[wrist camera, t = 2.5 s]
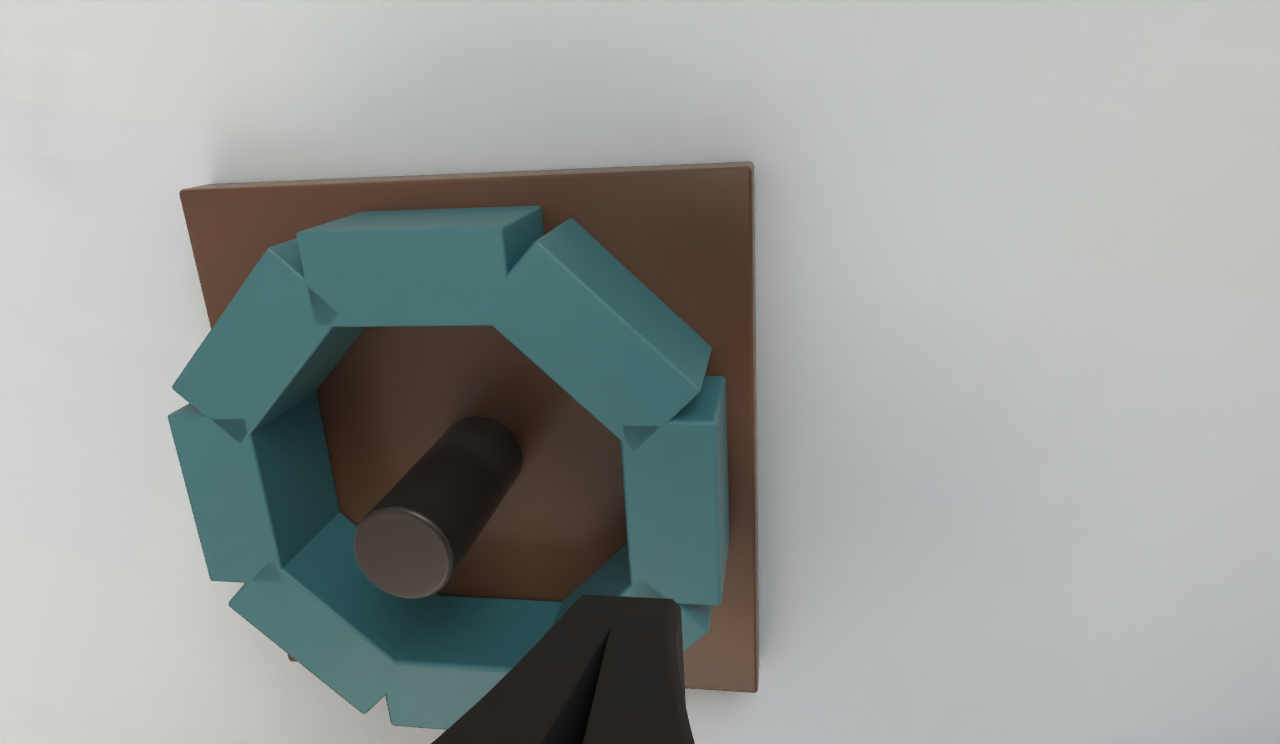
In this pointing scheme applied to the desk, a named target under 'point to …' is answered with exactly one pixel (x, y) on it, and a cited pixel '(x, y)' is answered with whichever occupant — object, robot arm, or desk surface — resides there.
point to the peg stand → (516, 390)
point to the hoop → (301, 470)
